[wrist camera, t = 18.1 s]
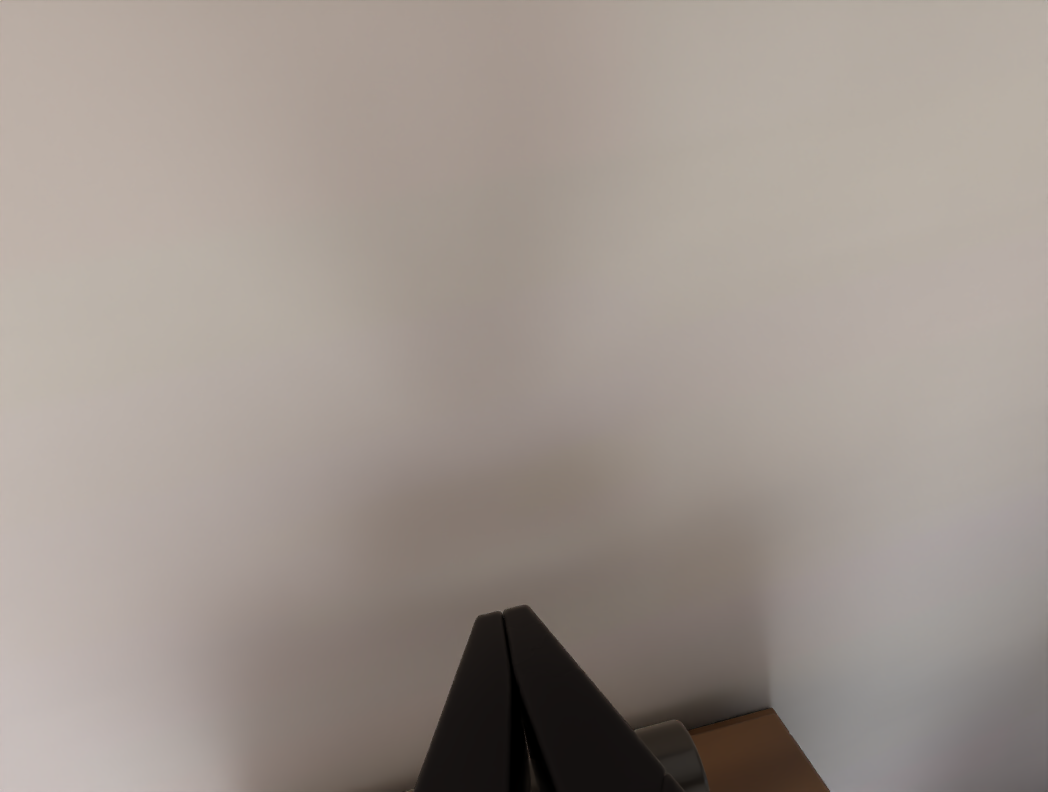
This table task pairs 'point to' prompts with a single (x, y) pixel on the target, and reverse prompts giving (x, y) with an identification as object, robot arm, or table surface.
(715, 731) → the drawer
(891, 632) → the table surface
